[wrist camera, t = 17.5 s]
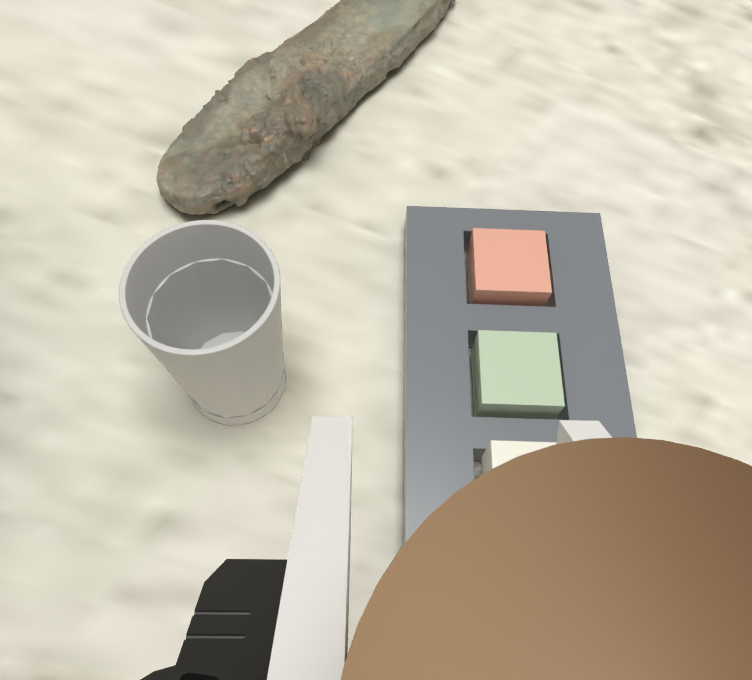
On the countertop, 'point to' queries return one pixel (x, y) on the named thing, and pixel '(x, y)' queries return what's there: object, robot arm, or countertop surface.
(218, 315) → the cup
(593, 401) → the keypad
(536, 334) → the key mid
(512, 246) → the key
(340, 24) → the long grey stone
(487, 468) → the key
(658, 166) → the countertop surface
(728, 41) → the countertop surface
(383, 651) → the wooden pepper mill
